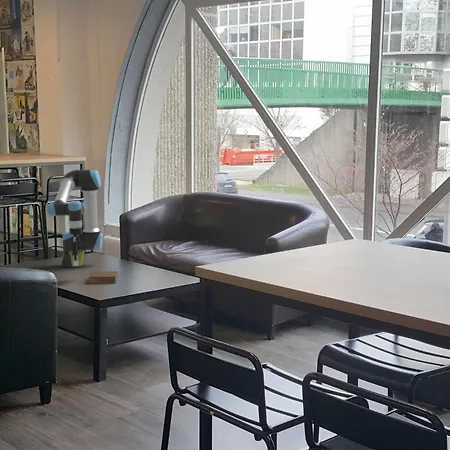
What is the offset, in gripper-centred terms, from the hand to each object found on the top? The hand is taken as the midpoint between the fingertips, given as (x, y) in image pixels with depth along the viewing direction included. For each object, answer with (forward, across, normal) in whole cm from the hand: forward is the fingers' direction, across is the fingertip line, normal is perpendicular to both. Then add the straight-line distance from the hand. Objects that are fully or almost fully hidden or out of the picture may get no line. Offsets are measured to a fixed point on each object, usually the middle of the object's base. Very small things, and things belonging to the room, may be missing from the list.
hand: (77, 263), depth 428 cm
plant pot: (+1, 0, 0) cm, 1 cm away
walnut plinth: (+10, +3, +16) cm, 19 cm away
